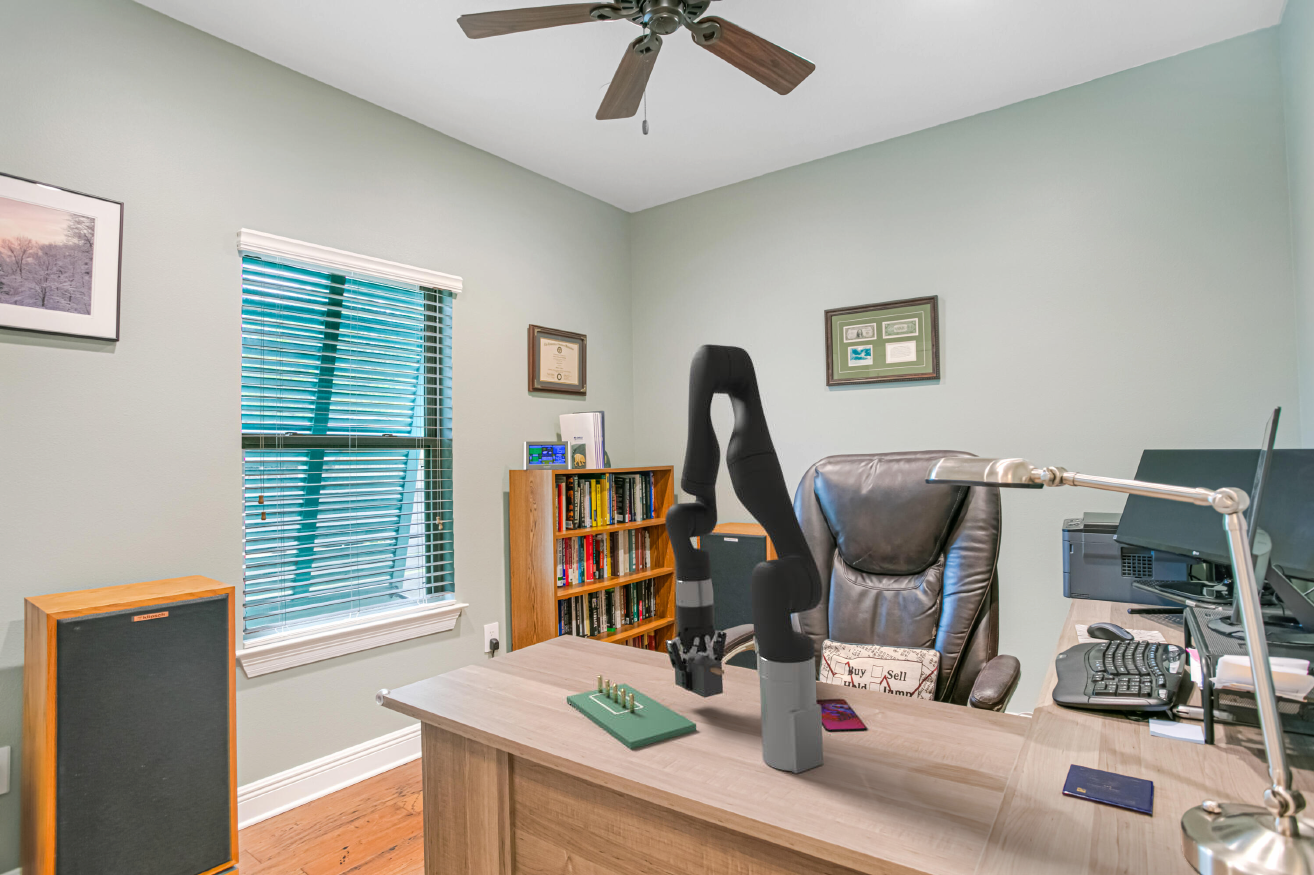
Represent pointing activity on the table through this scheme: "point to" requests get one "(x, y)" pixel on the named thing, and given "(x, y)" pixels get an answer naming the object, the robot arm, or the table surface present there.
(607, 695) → the header pins
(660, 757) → the table surface
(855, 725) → the smartphone
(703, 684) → the plug housing
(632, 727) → the header board
